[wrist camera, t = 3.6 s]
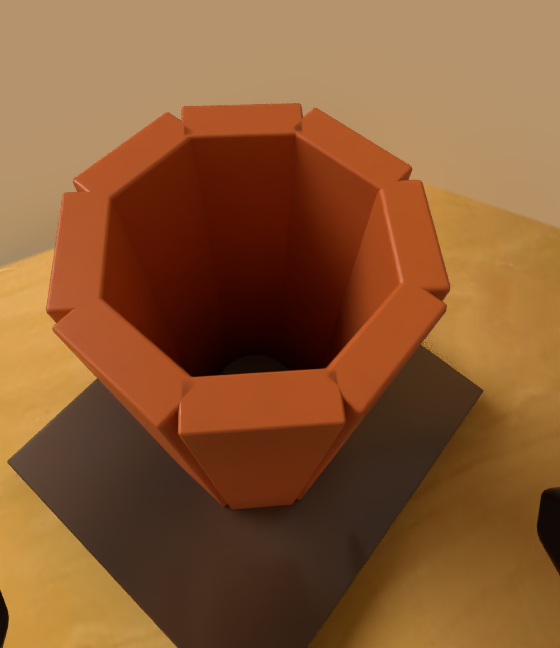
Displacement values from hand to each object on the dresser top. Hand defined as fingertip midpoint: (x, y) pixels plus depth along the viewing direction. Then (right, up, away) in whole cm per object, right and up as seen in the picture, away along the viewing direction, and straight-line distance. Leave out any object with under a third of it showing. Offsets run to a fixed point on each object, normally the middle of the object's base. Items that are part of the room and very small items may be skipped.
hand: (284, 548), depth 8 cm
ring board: (-1, -1, +12) cm, 12 cm away
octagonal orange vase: (-1, 0, +10) cm, 10 cm away
